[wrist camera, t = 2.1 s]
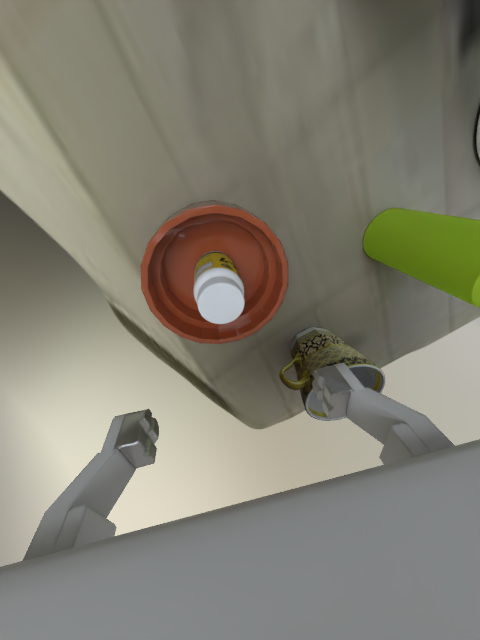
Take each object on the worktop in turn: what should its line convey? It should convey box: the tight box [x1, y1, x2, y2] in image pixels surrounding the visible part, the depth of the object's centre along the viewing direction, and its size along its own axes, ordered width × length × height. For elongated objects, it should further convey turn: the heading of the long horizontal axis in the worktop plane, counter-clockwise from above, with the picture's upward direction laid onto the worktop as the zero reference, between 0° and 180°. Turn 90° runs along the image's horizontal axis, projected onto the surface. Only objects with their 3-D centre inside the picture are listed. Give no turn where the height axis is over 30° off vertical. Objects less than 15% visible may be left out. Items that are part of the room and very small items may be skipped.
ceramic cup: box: [279, 327, 385, 421], centre depth 30 cm, size 13×10×10 cm
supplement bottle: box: [193, 251, 245, 324], centre depth 22 cm, size 5×5×8 cm
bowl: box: [141, 200, 288, 344], centre depth 24 cm, size 14×14×5 cm
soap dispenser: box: [363, 208, 480, 308], centre depth 19 cm, size 6×7×20 cm
